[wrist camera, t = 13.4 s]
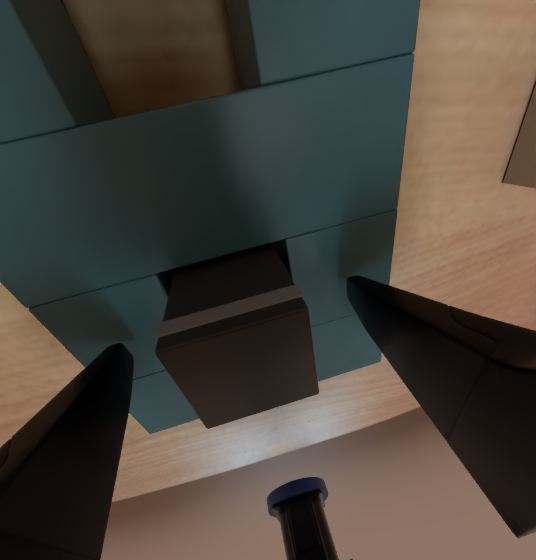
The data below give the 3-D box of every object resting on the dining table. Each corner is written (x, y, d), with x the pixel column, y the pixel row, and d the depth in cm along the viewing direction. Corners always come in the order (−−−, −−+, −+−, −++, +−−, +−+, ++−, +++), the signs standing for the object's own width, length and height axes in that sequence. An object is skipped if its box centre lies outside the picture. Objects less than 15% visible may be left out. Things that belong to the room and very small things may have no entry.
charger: (275, 286, 14) (321, 395, 8) (207, 305, 14) (206, 431, 8) (261, 220, 12) (310, 306, 6) (179, 241, 12) (149, 352, 6)
